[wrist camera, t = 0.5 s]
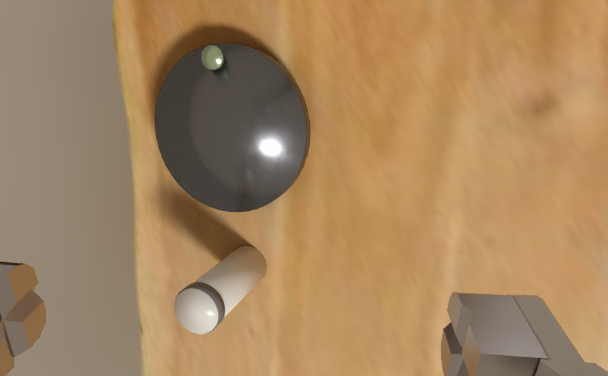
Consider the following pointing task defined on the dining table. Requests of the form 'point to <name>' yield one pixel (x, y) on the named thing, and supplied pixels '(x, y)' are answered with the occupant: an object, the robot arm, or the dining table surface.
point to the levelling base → (232, 127)
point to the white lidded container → (219, 290)
